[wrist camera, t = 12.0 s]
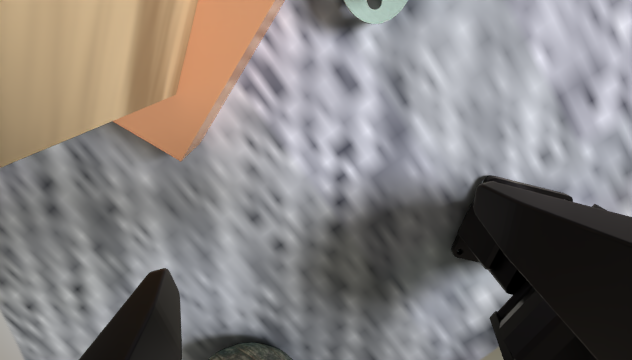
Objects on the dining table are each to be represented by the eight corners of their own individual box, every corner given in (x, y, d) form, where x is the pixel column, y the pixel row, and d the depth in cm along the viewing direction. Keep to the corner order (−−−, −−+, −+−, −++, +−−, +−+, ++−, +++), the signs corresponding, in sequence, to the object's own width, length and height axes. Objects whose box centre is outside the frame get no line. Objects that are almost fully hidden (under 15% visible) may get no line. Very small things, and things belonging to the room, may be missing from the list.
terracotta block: (285, 1, 19) (280, -9, 15) (202, 141, 22) (180, 161, 18) (116, -130, 17) (62, -179, 13) (48, 47, 20) (-12, 48, 16)
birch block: (200, -11, 15) (-58, -155, 4) (175, 94, 17) (-56, 190, 6) (84, -60, 14) (-633, -407, 3) (70, 56, 16) (-438, 84, 5)
